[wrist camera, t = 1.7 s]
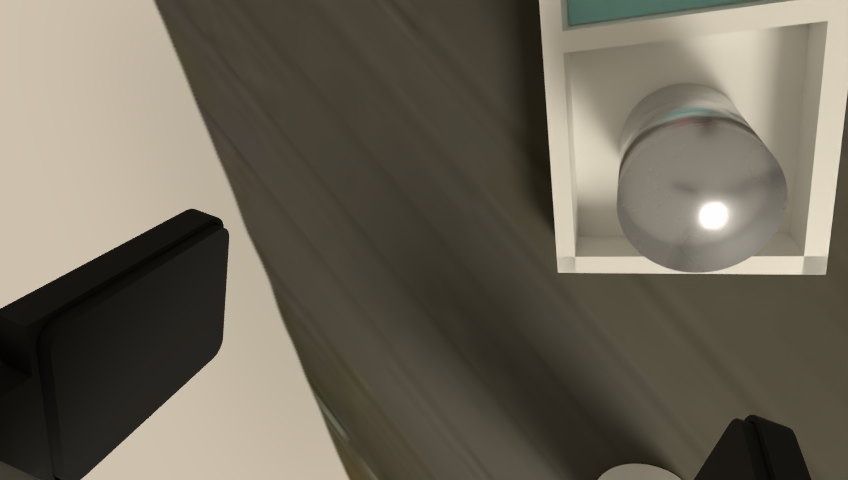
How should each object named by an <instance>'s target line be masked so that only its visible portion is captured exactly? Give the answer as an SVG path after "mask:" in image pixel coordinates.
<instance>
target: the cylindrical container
mask: <svg viewBox="0 0 848 480" xmlns="http://www.w3.org/2000/svg"><path fill="white" fill-rule="evenodd" d="M598 480H682V479H680V478H679V477H678V476H676V475H674V474H673V473H671V472H669V471H667V470H664V469H662V468H659V467H656V466H652V465H647V464H624V465H620V466H616V467H614V468H612V469H609V470H608V471H606V472H605V473H603V474H602V475H601V476H600V477H599V479H598Z"/></svg>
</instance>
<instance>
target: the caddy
mask: <svg viewBox="0 0 848 480" xmlns="http://www.w3.org/2000/svg"><path fill="white" fill-rule="evenodd" d="M539 6H540V21H541V35H542V50H543V64H544V79H545V93H546V107H547V122H548V136H549V151H550V165H551V179H552V194H553V208H554V223H555V237H556V252H557V266H558V273H669V274H806V275H826V268H827V260H828V251H829V243H830V234H831V226H832V218H833V209H834V201H835V192H836V184H837V176H838V167H839V159H840V150H841V142H842V134H843V125H844V117H845V108H846V100H847V92H848V0H539ZM679 83H696V84H702V85H706V86H709V87H711V88H714V89H716V90H717V91H719V92H721V93H722V94H724V95H725V96H726V97H727V98H728V99H729V100H730V101H731V102H732V103H733V104H734V106H735V107H736V108H737V109H738V111H739V112H740V113H741V115H742V116H743V117H744V118H745V120H746V121H747V122H748V124H749V125H750V126H751V127H752V129H753V130H754V131H755V133H756V134H757V135H758V136H759V138H760V139H761V140H762V142H763V143H764V144H765V145H766V147H767V148H768V149H769V151H770V152H771V153H772V154H773V156H774V157H775V158H776V160H777V161H778V163H779V165H780V167H781V169H782V170H783V173H784V176H785V179H786V184H787V206H786V211H785V214H784V217H783V220H782V222H781V224H780V226H779V228H778V230H777V231H776V233H775V234H774V236H773V237H772V239H771V240H770V241H769V242H768V243H767V244H766V245H765V246H764V247H763V248H762V249H761V250H760V251H758V252H757V253H756V254H754V255H753V256H751V257H750V258H748V259H747V260H745V261H743V262H741V263H739V264H737V265H734V266H732V267H729V268H726V269H722V270H718V271H712V272H703V273H691V272H681V271H676V270H672V269H669V268H665V267H663V266H660V265H658V264H656V263H654V262H652V261H650V260H649V259H647V258H646V257H644V256H643V255H642V254H640V253H639V252H638V251H637V250H636V249H635V248H634V247H633V246H632V244H631V243H630V242H629V241H628V239H627V238H626V236H625V234H624V233H623V230H622V228H621V226H620V223H619V219H618V215H617V190H618V176H619V163H620V149H621V136H622V131H623V128H624V125H625V122H626V120H627V118H628V116H629V114H630V113H631V111H632V110H633V109H634V108H635V106H636V105H637V104H638V103H639V102H640V101H641V100H642V99H644V98H645V97H646V96H648V95H649V94H651V93H652V92H654V91H656V90H658V89H660V88H663V87H666V86H669V85H673V84H679Z"/></svg>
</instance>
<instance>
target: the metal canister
mask: <svg viewBox="0 0 848 480" xmlns="http://www.w3.org/2000/svg"><path fill="white" fill-rule="evenodd" d="M786 206H787V184H786V179H785V176H784V173H783V170H782V169H781V167H780V165H779V163H778V161H777V160H776V158H775V157H774V156H773V154H772V153H771V152H770V151H769V149H768V148H767V147H766V145H765V144H764V143H763V142H762V140H761V139H760V138H759V136H758V135H757V134H756V133H755V131H754V130H753V129H752V127H751V126H750V125H749V124H748V122H747V121H746V120H745V118H744V117H743V116H742V115H741V113H740V112H739V111H738V109H737V108H736V107H735V106H734V104H733V103H732V102H731V101H730V100H729V99H728V98H727V97H726V96H725V95H724V94H722V93H721V92H719V91H717V90H716V89H714V88H711V87H709V86H706V85H702V84H696V83H679V84H673V85H669V86H666V87H663V88H660V89H658V90H656V91H654V92H652V93H651V94H649V95H648V96H646V97H645V98H644V99H642V100H641V101H640V102H639V103H638V104H637V105H636V106H635V108H634V109H633V110H632V111H631V113H630V114H629V116H628V118H627V120H626V122H625V125H624V128H623V131H622V136H621V149H620V163H619V176H618V190H617V215H618V219H619V223H620V226H621V228H622V230H623V233H624V234H625V236H626V238H627V239H628V241H629V242H630V243H631V244H632V246H633V247H634V248H635V249H636V250H637V251H638V252H639V253H640V254H642V255H643V256H644V257H646V258H647V259H649V260H650V261H652V262H654V263H656V264H658V265H660V266H663V267H665V268H669V269H672V270H676V271H681V272H691V273H703V272H712V271H718V270H722V269H726V268H729V267H732V266H734V265H737V264H739V263H741V262H743V261H745V260H747V259H748V258H750V257H751V256H753V255H754V254H756V253H757V252H758V251H760V250H761V249H762V248H763V247H764V246H765V245H766V244H767V243H768V242H769V241H770V240H771V239H772V237H773V236H774V234H775V233H776V231H777V230H778V228H779V226H780V224H781V222H782V220H783V217H784V214H785V211H786Z"/></svg>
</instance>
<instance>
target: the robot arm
mask: <svg viewBox="0 0 848 480" xmlns="http://www.w3.org/2000/svg"><path fill="white" fill-rule="evenodd" d="M228 246H229V233H228V231H227V229H225V228H223V222H222V220H221V219H219V218H217V217H215V216H212V215H209V214H206V213H204V212H201V211H198V210H195V209H189V210H186V211H184V212H182V213H180V214H179V215H177V216H175V217H173V218H171V219H169V220H167V221H165V222H163V223H162V224H160V225H158V226H156V227H154V228H152V229H150V230H148V231H146V232H144V233H143V234H141V235H139V236H137V237H135V238H133V239H131V240H130V241H127V242H126V243H124V244H122V245H120V246H118V247H116V248H114V249H113V250H110V251H109V252H107V253H105V254H103V255H101V256H99V257H97V258H95V259H93V260H92V261H90V262H88V263H86V264H84V265H82V266H80V267H79V268H77V269H75V270H73V271H71V272H69V273H67V274H65V275H63V276H61V277H59V278H58V279H56V280H54V281H52V282H50V283H48V284H46V285H44V286H43V287H41V288H39V289H37V290H35V291H33V292H31V293H29V294H27V295H25V296H24V297H22V298H20V299H18V300H16V301H14V302H12V303H10V304H8V305H7V306H5V307H3V308H1V309H0V480H80V479H82V478H83V477H84V476H85V475H87V474H88V473H89V472H90V471H91V470H92V469H93V468H94V467H95V466H96V465H97V464H98V463H99V462H101V461H102V460H103V459H104V458H105V457H106V456H107V455H108V454H109V453H110V452H112V451H113V449H115V448H116V447H117V446H118V445H119V444H120V443H121V442H122V441H124V440H125V439H126V438H127V437H128V436H129V435H130V434H131V433H132V432H133V431H134V430H135V429H136V428H138V427H139V426H140V425H141V424H142V423H143V422H144V421H145V420H146V419H147V418H149V416H151V415H152V414H153V413H154V412H155V411H156V410H157V409H158V408H159V407H161V406H162V405H163V404H164V403H165V402H166V401H167V400H168V399H169V398H170V397H171V396H172V395H174V394H175V393H176V392H177V391H178V390H179V389H180V388H181V387H182V386H183V385H185V384H186V383H187V382H188V381H189V380H190V379H191V378H192V377H193V376H194V375H195V374H196V373H198V372H199V371H200V370H201V369H202V368H203V367H204V366H205V365H206V364H207V363H208V362H210V361H211V360H212V359H213V358H214V357H215V356H216V354H217V353H218V351H219V349H220V347H221V344H222V340H223V328H224V310H225V295H226V279H227V262H228ZM694 480H811V478H810V475H809V472H808V469H807V467H806V464H805V461H804V458H803V455H802V453H801V450H800V447H799V444H798V442H797V439H796V436H795V434H794V432H793V430H792V429H790V428H788V427H786V426H783V425H780V424H777V423H775V422H772V421H769V420H767V419H764V418H761V417H758V416H756V415H750V416H748V417H747V418H745V420H744V421H743V420H741V419H734V420H733V421H732V422H731V423H730V424H729V426H728V427H727V429H726V430H725V432H724V433H723V435H722V437H721V438H720V440H719V441H718V443H717V444H716V446H715V447H714V449H713V451H712V452H711V454H710V455H709V457H708V458H707V460H706V462H705V463H704V465H703V466H702V468H701V469H700V471H699V473H698V474H697V476H696V477H695V479H694Z"/></svg>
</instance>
